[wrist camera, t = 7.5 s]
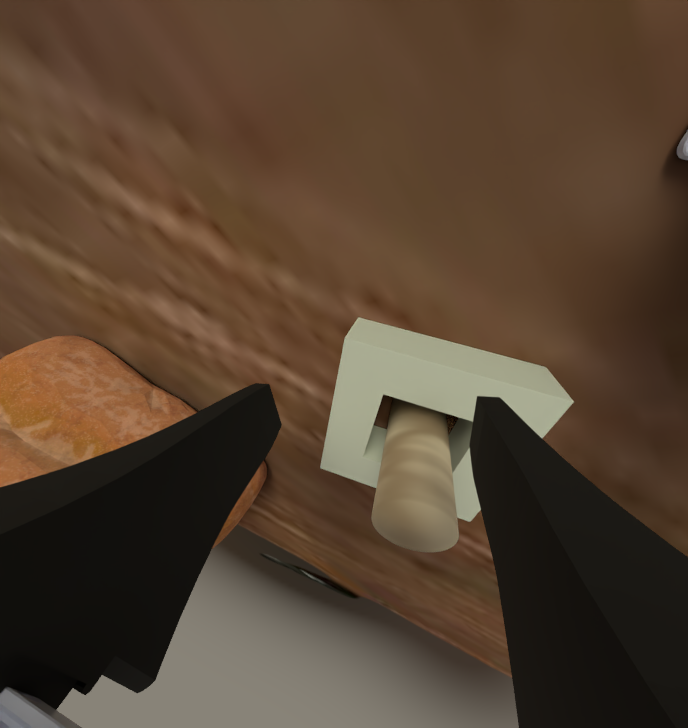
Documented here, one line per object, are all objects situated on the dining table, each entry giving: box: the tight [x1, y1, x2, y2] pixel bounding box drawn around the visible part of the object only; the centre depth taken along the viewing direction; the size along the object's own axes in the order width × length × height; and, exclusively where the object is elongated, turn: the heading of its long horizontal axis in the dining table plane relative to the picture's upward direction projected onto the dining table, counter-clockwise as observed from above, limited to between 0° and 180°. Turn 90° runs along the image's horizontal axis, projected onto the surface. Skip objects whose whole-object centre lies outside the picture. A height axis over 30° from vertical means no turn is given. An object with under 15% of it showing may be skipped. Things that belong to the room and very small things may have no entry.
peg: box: [371, 398, 459, 552], centre depth 16 cm, size 4×4×9 cm
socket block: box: [320, 317, 574, 522], centre depth 18 cm, size 12×12×4 cm
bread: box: [0, 336, 267, 548], centre depth 24 cm, size 14×26×15 cm, turn 57°
